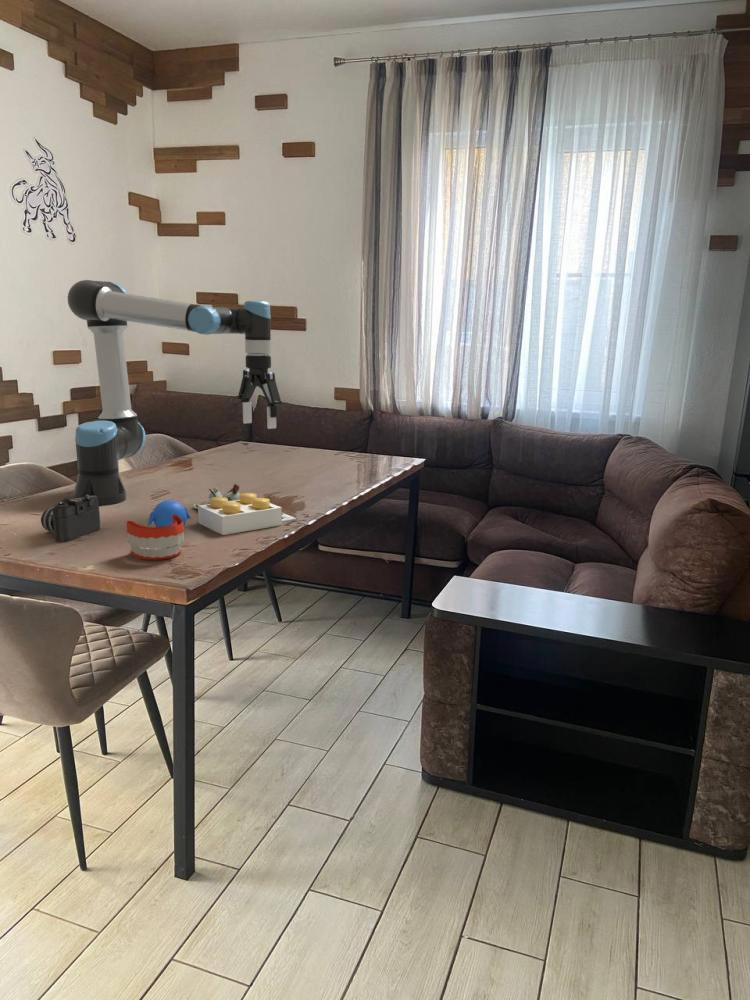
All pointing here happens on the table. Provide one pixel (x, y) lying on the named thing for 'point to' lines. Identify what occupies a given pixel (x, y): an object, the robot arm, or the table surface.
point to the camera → (72, 518)
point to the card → (287, 518)
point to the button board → (239, 518)
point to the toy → (156, 540)
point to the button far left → (217, 502)
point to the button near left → (231, 508)
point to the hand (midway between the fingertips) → (259, 425)
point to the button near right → (260, 503)
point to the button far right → (246, 498)
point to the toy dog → (230, 495)
